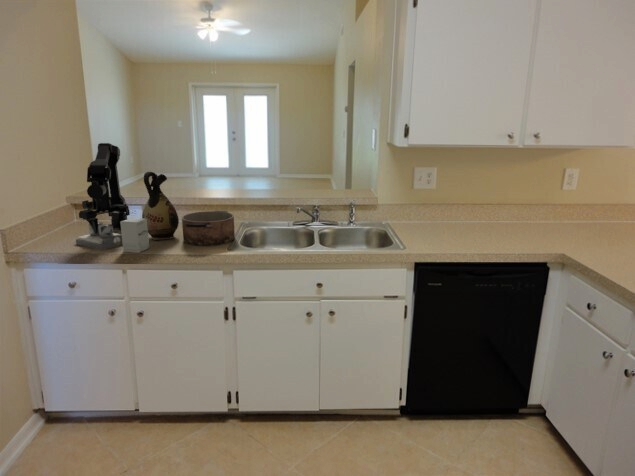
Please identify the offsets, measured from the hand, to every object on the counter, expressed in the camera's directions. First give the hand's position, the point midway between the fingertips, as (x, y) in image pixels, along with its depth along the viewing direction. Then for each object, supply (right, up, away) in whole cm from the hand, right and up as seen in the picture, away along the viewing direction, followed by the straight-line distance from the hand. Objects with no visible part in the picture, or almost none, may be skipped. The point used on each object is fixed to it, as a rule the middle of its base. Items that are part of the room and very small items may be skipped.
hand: (106, 231), depth 178 cm
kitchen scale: (-2, -5, +2) cm, 6 cm away
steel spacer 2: (0, -2, +1) cm, 2 cm away
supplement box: (+16, -8, -6) cm, 19 cm away
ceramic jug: (+19, -3, +12) cm, 22 cm away
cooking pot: (+41, -4, +11) cm, 43 cm away
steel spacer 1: (-6, -1, +4) cm, 7 cm away
